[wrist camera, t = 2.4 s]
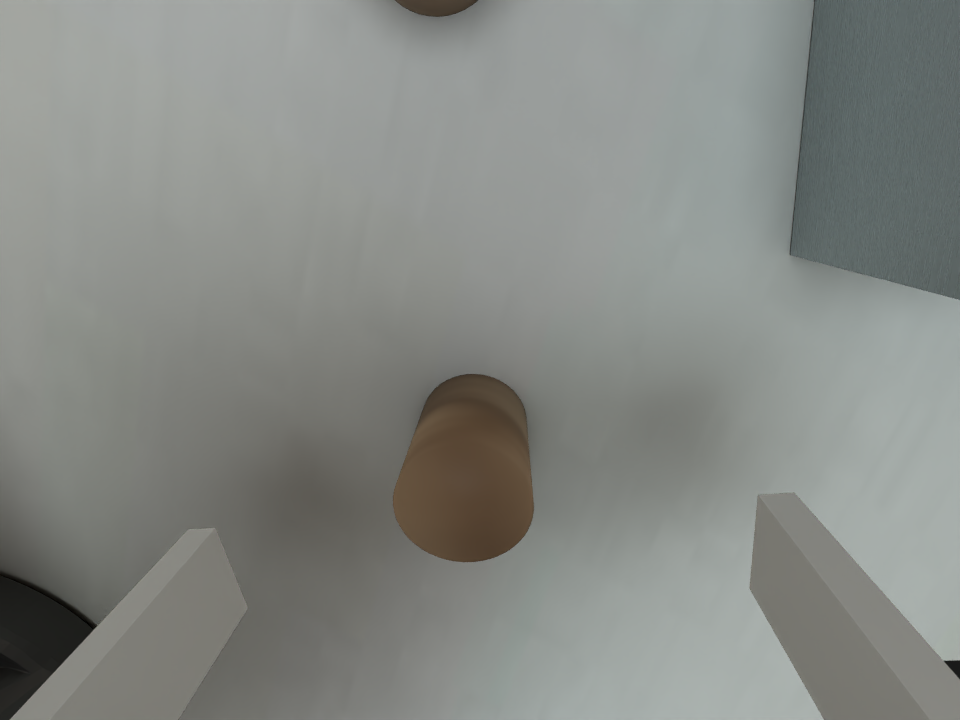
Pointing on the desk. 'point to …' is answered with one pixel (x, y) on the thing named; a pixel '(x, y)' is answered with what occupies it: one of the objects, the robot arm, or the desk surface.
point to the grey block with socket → (883, 142)
